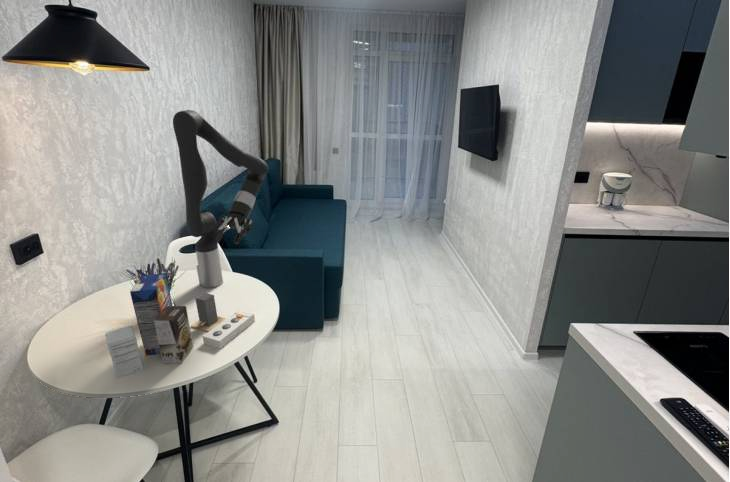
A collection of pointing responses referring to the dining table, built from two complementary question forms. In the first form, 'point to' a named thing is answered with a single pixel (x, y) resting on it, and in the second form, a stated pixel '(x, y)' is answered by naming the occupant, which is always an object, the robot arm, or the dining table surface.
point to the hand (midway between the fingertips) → (226, 241)
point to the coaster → (206, 328)
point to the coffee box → (174, 334)
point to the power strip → (228, 329)
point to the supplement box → (124, 351)
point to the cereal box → (150, 307)
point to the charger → (206, 309)
